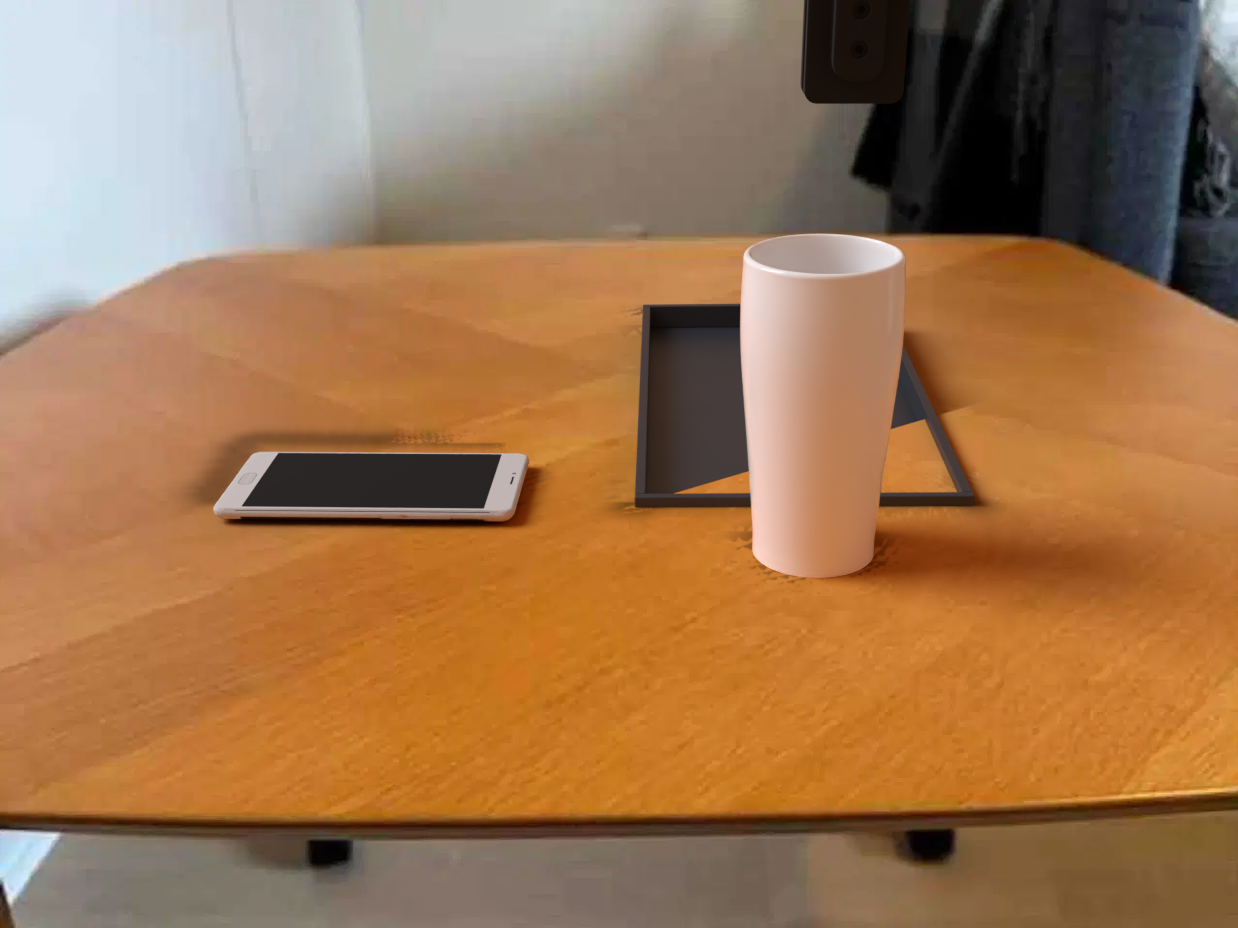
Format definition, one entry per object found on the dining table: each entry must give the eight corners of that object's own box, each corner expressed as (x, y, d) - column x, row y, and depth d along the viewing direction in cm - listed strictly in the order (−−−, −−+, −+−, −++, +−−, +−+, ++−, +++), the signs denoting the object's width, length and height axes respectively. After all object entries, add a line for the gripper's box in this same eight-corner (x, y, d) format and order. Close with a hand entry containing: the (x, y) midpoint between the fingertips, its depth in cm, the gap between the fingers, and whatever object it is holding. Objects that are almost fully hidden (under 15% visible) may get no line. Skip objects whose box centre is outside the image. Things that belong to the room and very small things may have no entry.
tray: (971, 534, 70) (974, 495, 69) (635, 535, 70) (634, 497, 69) (882, 330, 98) (883, 302, 97) (643, 332, 99) (642, 304, 98)
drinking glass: (740, 542, 69) (746, 230, 63) (885, 548, 68) (905, 233, 62) (730, 611, 63) (735, 274, 57) (890, 620, 62) (912, 277, 56)
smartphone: (252, 450, 79) (530, 451, 78) (254, 461, 79) (530, 463, 78) (209, 509, 72) (513, 512, 71) (210, 521, 72) (513, 524, 71)
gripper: (1094, -648, 34) (1015, 143, 41) (970, -508, 48) (927, 67, 55) (771, -643, 34) (748, 143, 42) (740, -505, 48) (727, 68, 55)
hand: (850, 98), depth 48 cm, fingers closed
